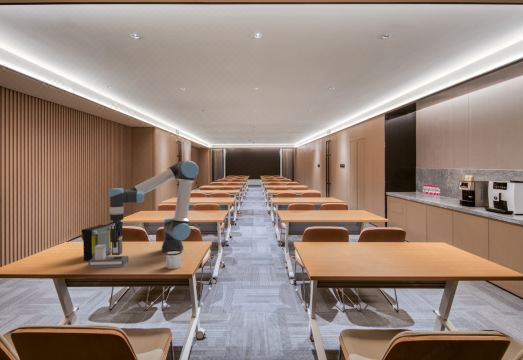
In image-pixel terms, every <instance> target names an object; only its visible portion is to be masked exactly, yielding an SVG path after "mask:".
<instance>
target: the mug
mask: <svg viewBox="0 0 523 360" xmlns="http://www.w3.org/2000/svg"><path fill="white" fill-rule="evenodd" d="M182 251H183V250H182ZM182 251H180V250H170V251H167V252H164V254H165V256H166V257H165V258H166V259H165V261H166V265H165V266H166V267H165V268H166V269H167V270H177V269H180V268H181V267H182V255H181V254H182V253H183V252H182Z"/></svg>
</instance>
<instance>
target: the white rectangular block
mask: <svg viewBox="0 0 523 360" xmlns="http://www.w3.org/2000/svg"><path fill="white" fill-rule="evenodd" d="M105 258H106V245H97V246H95V260H104V259H105Z"/></svg>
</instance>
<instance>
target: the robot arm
mask: <svg viewBox="0 0 523 360" xmlns="http://www.w3.org/2000/svg"><path fill="white" fill-rule="evenodd" d="M198 175H199V166H198V165H197V163H196V162H194V161H192V160H180V161H178V162H176V163H175V164H173V165H171V166H169V167H167V168H166V170H164V171H163V172H161V173H159V174H157V175H154V176H152V177H151V178H149V179H146V180H145V181H142V182H141V183H139V184H137V185H135V186H134V185H133V187H130V188H128V189H124V188H123V187H113V188H110V189H109V209H108V210H109V213H110V214H109V220H110V221H112V225H111V243H112V242H113V253H118V242H117V238H118V236H122V240H123V224H124V223H123V222H122V221H123V220H124V215H125V214H124V213H125V212H124V211H125V210H124V209H125V208H124V205H125V204H139V203H143V202H144V201H145V194H147V193H150V192H151V191H153V190H156V188H158V187H161V186H163V185H164V184H166V183H168V182H170V181H175V180H178V191H177V194H176V203H175V212H174V216H173V217H172V218H165V219H164V220H163V242H162V245H161V252H162V253H165V252H167V251H170V250H180V251H184V245H183V242H182V241H184V240H186V239H187V238H188V237H189V236H190V234H191V227H190V220H189V218H188V215H189V208H190V201H191V194H192V193H191V192H192V185H193V183H195V180H196V176H198Z"/></svg>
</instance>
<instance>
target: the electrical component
mask: <svg viewBox="0 0 523 360" xmlns="http://www.w3.org/2000/svg"><path fill="white" fill-rule="evenodd" d="M111 226H112V225H111V224H97V225H94V226H91V227H88V228H83V229H81V235H80V238H81V240H82V241H83V245H82V247H83V249H82V250H83V261H84V262H88V261H89V260H91V259H92V258H94V257H95V246H97V245H106V256H109V255H112V242H111Z"/></svg>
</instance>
